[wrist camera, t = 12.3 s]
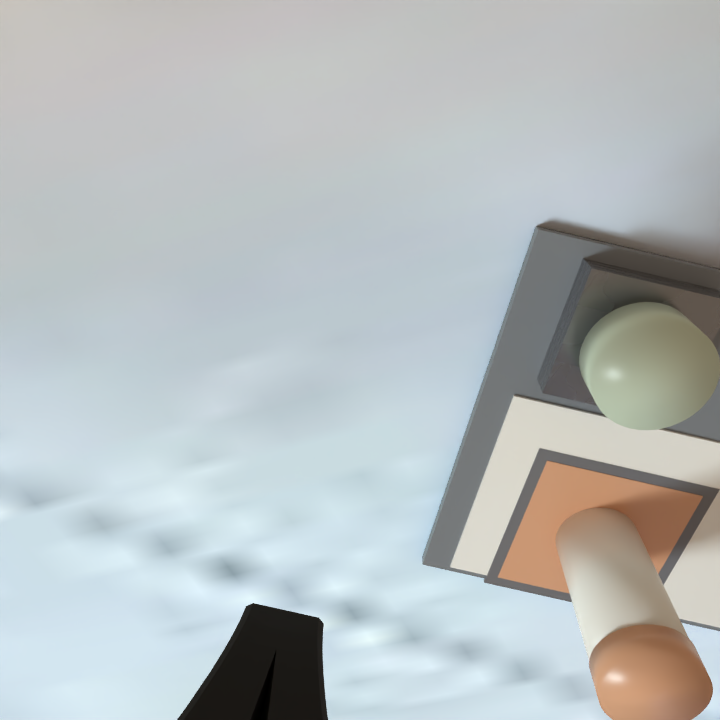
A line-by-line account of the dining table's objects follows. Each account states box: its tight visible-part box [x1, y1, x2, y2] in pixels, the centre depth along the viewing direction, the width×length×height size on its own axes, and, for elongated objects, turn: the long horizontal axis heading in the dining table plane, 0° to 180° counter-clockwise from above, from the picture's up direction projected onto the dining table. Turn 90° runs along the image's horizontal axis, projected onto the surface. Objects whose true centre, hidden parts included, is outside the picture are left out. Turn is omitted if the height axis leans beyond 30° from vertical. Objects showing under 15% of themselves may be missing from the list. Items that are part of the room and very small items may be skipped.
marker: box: [555, 508, 713, 720], centre depth 19 cm, size 3×3×6 cm
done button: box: [579, 302, 720, 430], centre depth 17 cm, size 3×3×3 cm
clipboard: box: [422, 226, 720, 631], centre depth 21 cm, size 15×13×1 cm
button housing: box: [537, 258, 720, 406], centre depth 18 cm, size 4×4×1 cm
